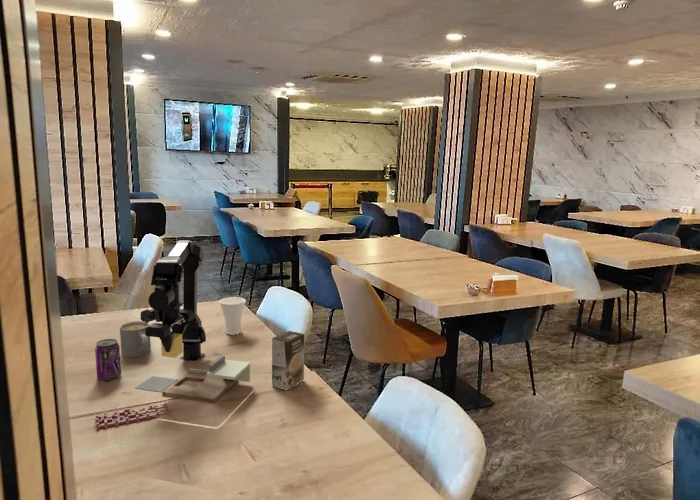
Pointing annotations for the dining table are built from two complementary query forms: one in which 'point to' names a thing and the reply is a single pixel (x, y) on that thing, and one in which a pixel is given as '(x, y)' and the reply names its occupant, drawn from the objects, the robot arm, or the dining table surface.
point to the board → (199, 386)
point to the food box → (287, 359)
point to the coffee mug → (134, 339)
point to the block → (174, 347)
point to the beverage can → (107, 359)
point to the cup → (232, 314)
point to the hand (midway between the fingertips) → (172, 348)
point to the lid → (229, 369)
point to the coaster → (156, 384)
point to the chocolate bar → (129, 416)
